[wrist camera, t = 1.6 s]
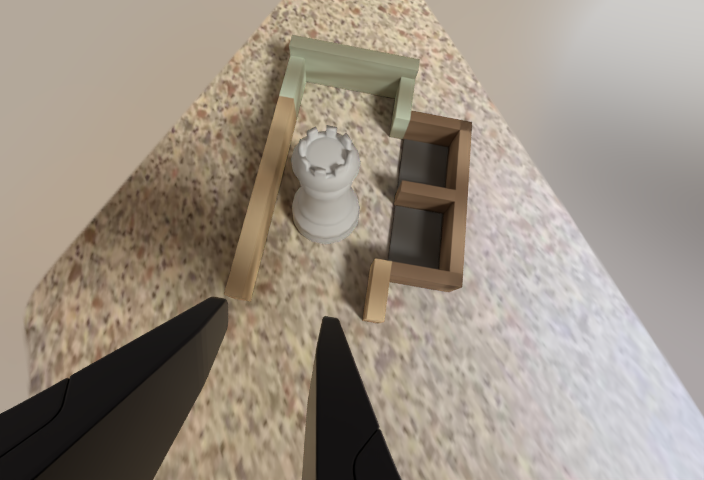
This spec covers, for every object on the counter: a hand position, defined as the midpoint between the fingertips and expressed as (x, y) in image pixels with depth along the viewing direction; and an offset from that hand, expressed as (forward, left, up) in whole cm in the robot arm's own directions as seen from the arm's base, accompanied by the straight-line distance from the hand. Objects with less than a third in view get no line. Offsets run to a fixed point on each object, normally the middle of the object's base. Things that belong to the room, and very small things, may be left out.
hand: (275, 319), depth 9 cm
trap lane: (+9, +6, -12) cm, 16 cm away
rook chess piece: (+5, +5, -12) cm, 14 cm away
